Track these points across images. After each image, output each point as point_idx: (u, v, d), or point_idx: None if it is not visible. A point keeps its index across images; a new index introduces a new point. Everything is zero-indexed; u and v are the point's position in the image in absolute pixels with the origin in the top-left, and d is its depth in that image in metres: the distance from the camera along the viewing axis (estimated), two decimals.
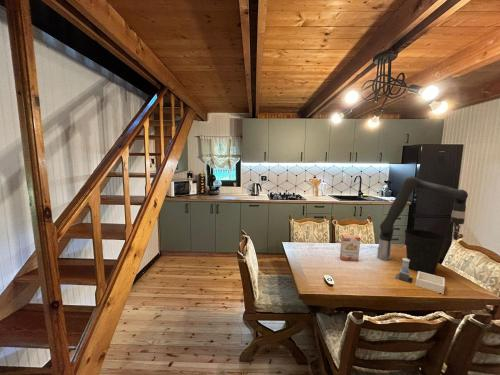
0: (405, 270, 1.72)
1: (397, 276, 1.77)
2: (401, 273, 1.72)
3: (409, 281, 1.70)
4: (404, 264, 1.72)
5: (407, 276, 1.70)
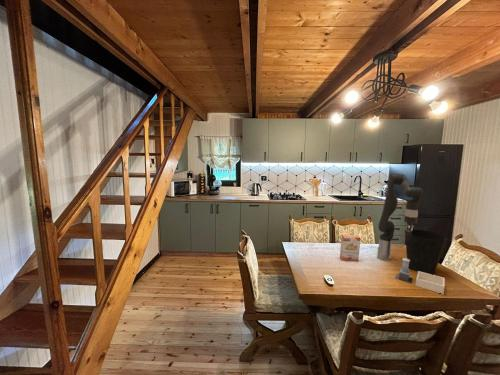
0: (405, 270, 1.72)
1: (397, 276, 1.77)
2: (401, 273, 1.72)
3: (409, 281, 1.70)
4: (404, 264, 1.72)
5: (407, 276, 1.70)
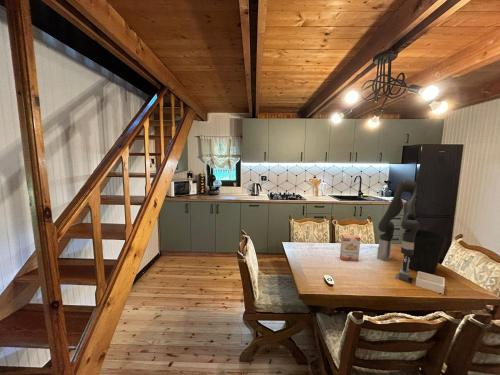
0: None
1: (397, 276, 1.77)
2: (401, 273, 1.72)
3: (409, 281, 1.70)
4: None
5: (407, 276, 1.70)
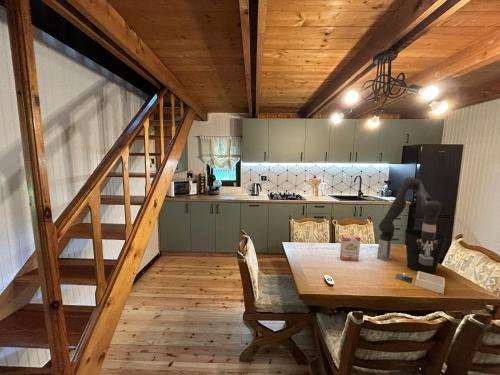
0: None
1: (397, 276, 1.77)
2: (420, 256, 1.67)
3: (409, 281, 1.70)
4: None
5: (423, 260, 1.63)
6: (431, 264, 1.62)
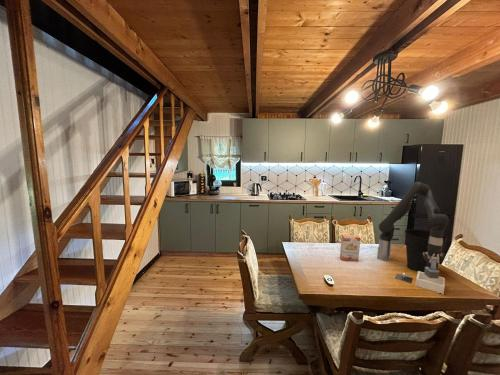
0: None
1: (397, 276, 1.77)
2: (426, 269, 1.66)
3: (409, 281, 1.70)
4: None
5: (429, 273, 1.62)
6: (437, 277, 1.62)
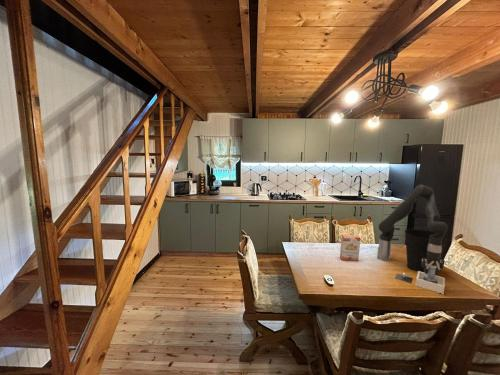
0: (428, 276, 1.64)
1: (397, 276, 1.77)
2: (424, 278, 1.67)
3: (409, 281, 1.70)
4: (428, 269, 1.65)
5: None
6: None
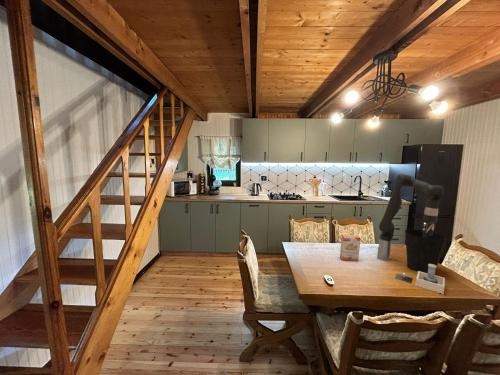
0: (428, 276, 1.64)
1: (397, 276, 1.77)
2: (424, 278, 1.67)
3: (409, 281, 1.70)
4: (428, 269, 1.65)
5: None
6: None
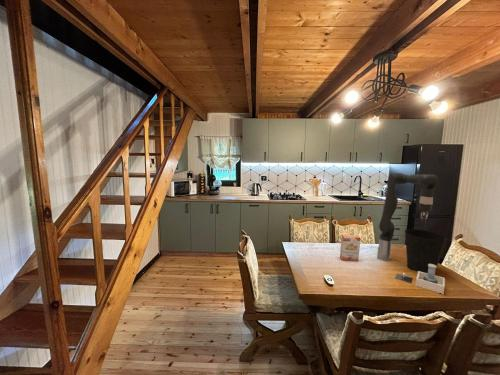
0: (428, 276, 1.64)
1: (397, 276, 1.77)
2: (424, 278, 1.67)
3: (409, 281, 1.70)
4: (428, 269, 1.65)
5: None
6: None
